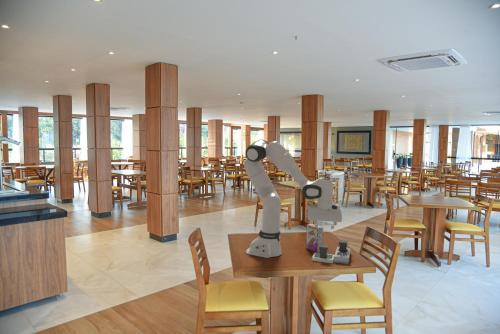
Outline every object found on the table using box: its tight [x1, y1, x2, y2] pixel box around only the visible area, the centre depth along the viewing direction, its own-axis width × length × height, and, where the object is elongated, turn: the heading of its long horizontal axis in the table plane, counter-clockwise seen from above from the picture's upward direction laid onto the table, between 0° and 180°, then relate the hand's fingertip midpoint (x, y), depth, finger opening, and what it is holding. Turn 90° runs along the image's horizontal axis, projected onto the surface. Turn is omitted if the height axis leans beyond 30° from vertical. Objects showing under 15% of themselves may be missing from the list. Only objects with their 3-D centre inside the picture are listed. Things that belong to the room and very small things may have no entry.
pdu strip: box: [333, 246, 351, 265], centre depth 207 cm, size 8×20×5 cm, turn 161°
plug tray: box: [311, 252, 335, 264], centre depth 204 cm, size 12×10×2 cm
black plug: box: [319, 244, 329, 259], centre depth 204 cm, size 5×5×8 cm
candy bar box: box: [305, 223, 324, 253], centre depth 222 cm, size 11×5×16 cm, turn 31°
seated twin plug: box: [338, 239, 349, 252], centre depth 211 cm, size 5×5×8 cm
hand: (324, 228), depth 203 cm, fingers open, 8 cm apart
